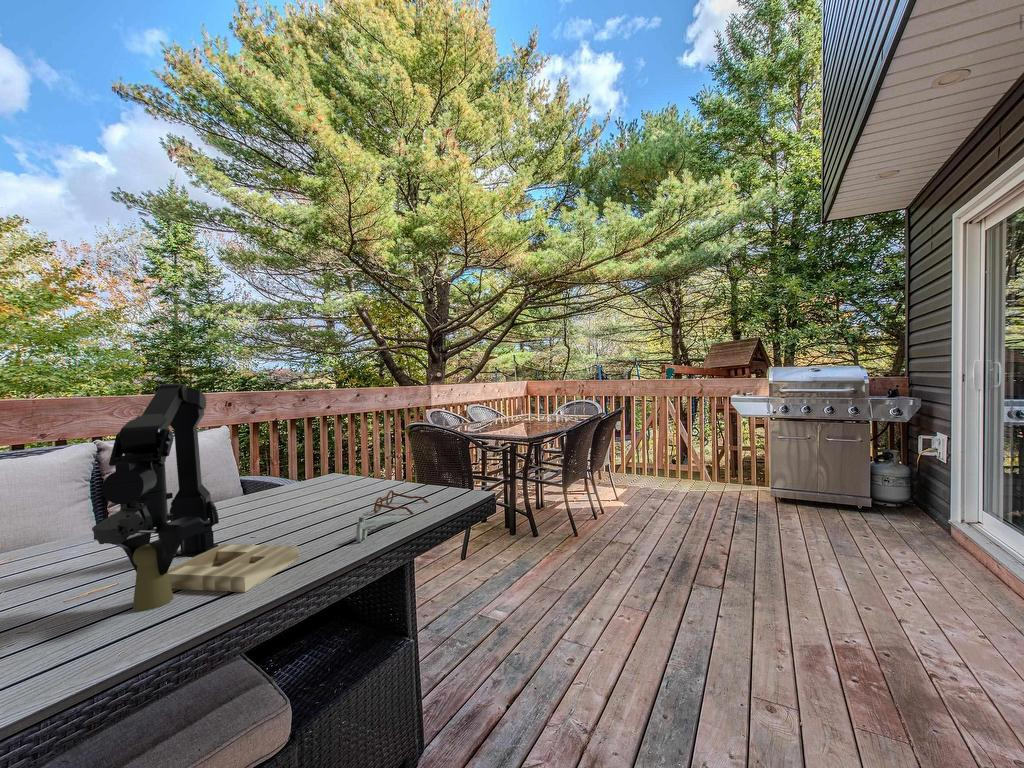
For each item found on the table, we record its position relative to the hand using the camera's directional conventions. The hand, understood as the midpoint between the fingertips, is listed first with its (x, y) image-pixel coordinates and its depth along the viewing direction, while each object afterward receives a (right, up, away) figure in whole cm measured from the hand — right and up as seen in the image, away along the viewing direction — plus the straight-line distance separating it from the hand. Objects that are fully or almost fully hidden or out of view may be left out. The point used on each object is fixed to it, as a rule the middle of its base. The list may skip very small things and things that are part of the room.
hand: (152, 573), depth 86 cm
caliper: (+33, -4, +37) cm, 50 cm away
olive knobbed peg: (0, -6, 0) cm, 6 cm away
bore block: (+8, -5, +12) cm, 15 cm away
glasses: (+33, -4, +58) cm, 67 cm away
